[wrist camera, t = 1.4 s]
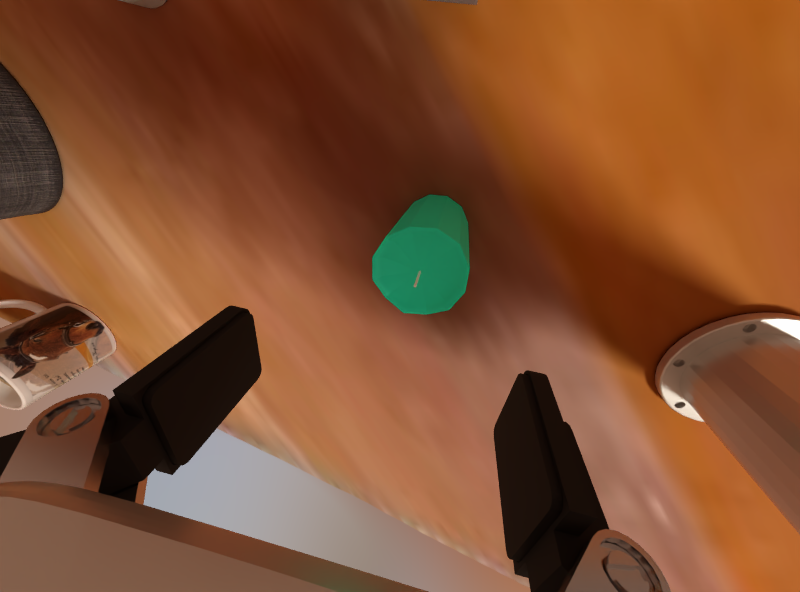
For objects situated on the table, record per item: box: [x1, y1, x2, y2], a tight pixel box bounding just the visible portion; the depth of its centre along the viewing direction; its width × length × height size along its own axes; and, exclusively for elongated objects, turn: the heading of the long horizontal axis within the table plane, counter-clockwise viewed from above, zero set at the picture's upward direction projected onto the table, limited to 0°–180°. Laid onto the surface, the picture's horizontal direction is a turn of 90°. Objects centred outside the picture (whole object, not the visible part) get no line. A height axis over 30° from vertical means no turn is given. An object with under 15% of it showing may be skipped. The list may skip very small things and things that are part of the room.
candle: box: [372, 194, 470, 314], centre depth 21 cm, size 6×6×12 cm
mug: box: [0, 299, 116, 410], centre depth 39 cm, size 10×12×11 cm
